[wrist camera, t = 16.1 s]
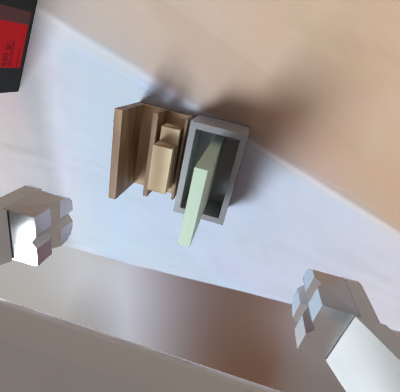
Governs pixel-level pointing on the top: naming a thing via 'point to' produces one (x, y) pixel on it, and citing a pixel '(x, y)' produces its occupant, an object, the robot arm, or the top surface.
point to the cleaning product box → (14, 40)
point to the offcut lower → (172, 142)
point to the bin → (227, 167)
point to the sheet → (200, 189)
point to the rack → (141, 145)
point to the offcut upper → (161, 166)
